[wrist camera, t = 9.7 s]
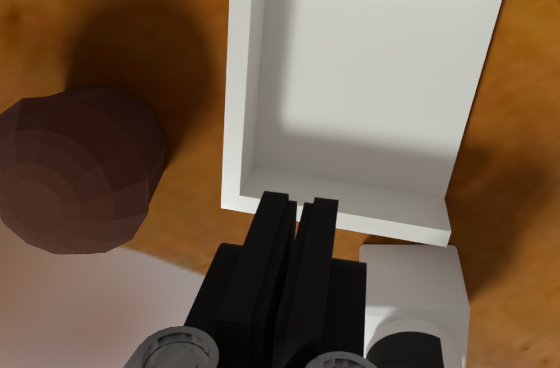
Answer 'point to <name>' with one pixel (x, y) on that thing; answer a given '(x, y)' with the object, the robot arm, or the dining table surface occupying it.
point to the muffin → (79, 169)
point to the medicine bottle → (415, 306)
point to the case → (352, 106)
